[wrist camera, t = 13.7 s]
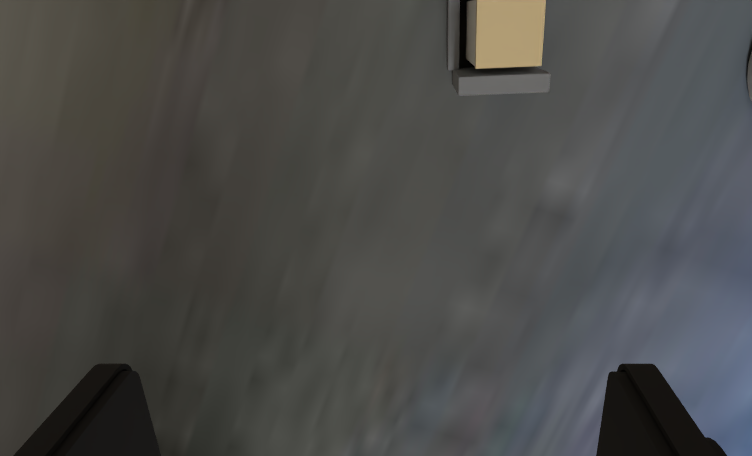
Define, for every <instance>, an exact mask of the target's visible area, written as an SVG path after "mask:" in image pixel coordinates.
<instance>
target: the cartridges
mask: <svg viewBox="0 0 752 456" xmlns="http://www.w3.org/2000/svg"><path fill="white" fill-rule="evenodd" d="M545 6H546V0H473V1H467V9H466V59H467V60H468V61H469V62H470V63H472V64H473V65H474V66H475V69H482V68H505V67H528V66H541V65H542V50H543V35H544V20H545Z"/></svg>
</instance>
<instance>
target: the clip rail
mask: <svg viewBox="0 0 752 456" xmlns="http://www.w3.org/2000/svg"><path fill="white" fill-rule="evenodd" d="M459 26H460V0H448V12H447V69H448V70H453V77H452V84H453V86H454V88H455V90H456V92H457V94H458V96H464V95H489V94H514V93H539V92H549V88H550V75H551V73H548V72H546V71H544V70H542V69H540V68H537V67H535V66H528V67H505V68H482V69H475V67H472V68H459Z"/></svg>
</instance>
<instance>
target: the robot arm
mask: <svg viewBox="0 0 752 456" xmlns="http://www.w3.org/2000/svg"><path fill="white" fill-rule="evenodd" d="M747 83H748V90H749V96H750V99H751V101H752V52H751V56H750V59H749V63H748V76H747ZM14 456H161V454H160V450H159V447H158V443H157V439H156V436H155V432H154V428H153V424H152V421H151V417H150V413H149V410H148V406H147V402H146V399H145V395H144V391H143V388H142V384H141V380H140V377H139V374H138V373H137V372H136V371H132V369H131V367H130V366H129V365H127V364H98V365H95V366H94V367H93V368H92V369H91V370H90V371H89V372H88V373H87V374H86V376H85V377H84V378H83V379H82V380H81V381H80V382H79V383H78V384H77V386H76V387H75V388H74V389H73V390H72V391H71V392H70V393H69V394H68V396H67V397H66V398H65V399H64V400H63V401H62V402H61V403H60V405H59V406H58V407H57V408H56V409H55V410H54V411H53V412H52V413H51V415H50V416H49V417H48V418H47V419H46V420H45V421H44V422H43V423H42V425H41V426H40V427H39V428H38V429H37V430H36V431H35V432H34V433H33V435H32V436H31V437H30V438H29V439H28V440H27V441H26V442H25V443H24V445H23V446H22V447H21V448H20V449H19V450H18V451H17V452H16V453H15V455H14ZM596 456H727V455H726V454H725V452H724V451H723V449H722V448H721V447H720V446H719V445H718V444H717V442H716V441H714V440H712V439H711V438H705V437H704V435H703V434H702V433H701V431H700V430H699V428H698V427H697V425H696V424H695V422H694V421H693V419H692V418H691V416H690V415H689V414H688V412H687V411H686V409H685V408H684V406H683V405H682V403H681V402H680V400H679V399H678V397H677V396H676V395H675V393H674V392H673V390H672V389H671V387H670V386H669V384H668V383H667V381H666V380H665V378H664V377H663V376H662V374H661V373H660V371H659V370H658V368H657V367H656V366H655V365H653V364H621V365H619V367H618V370H617V372H610V373H609V375H608V380H607V387H606V394H605V400H604V407H603V414H602V421H601V428H600V435H599V441H598V448H597V455H596Z"/></svg>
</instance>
